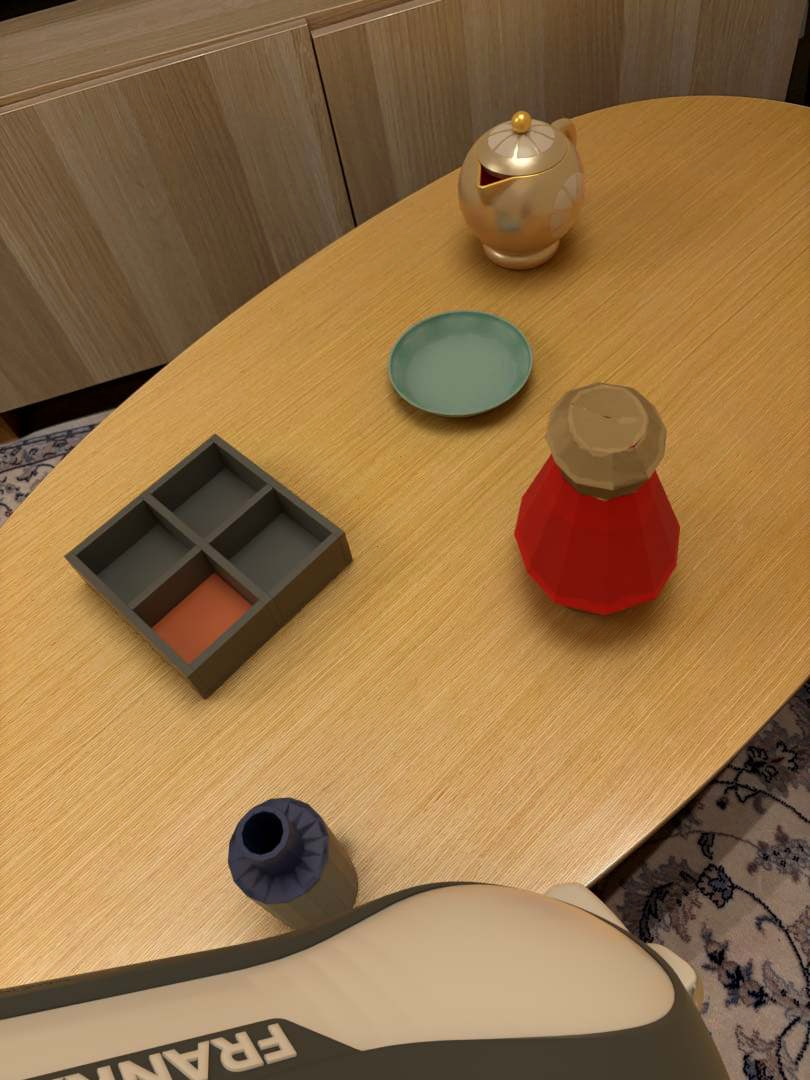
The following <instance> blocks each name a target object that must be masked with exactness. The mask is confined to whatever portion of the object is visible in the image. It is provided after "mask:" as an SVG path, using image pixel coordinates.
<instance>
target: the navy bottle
mask: <svg viewBox="0 0 810 1080" xmlns="http://www.w3.org/2000/svg"><path fill="white" fill-rule="evenodd" d="M227 865H228V868H229V871H230V874H231V878H232V881H233V882H234V884H235V885H236V886H237V887H238V889H240V891H241V892H242V893H243V894H244V895H245V896H246V897H247V898H248V899H250V900H251V901H252V902H254V903H255V904H257V905H258V906H259V907H261V908H262V909H263V910H265V911H266V912H267V913H269V914H270V915H271V916H273V917H274V918H276V919H277V920H278V921H279V922H281V923H282V924H283V925H285V926H286V927H288V928H290V929H292V930H293V931H294V930H297V929H300V928H303V927H306V926H309V925H311V924H314V923H317V922H319V921H322V920H325V919H327V918H330V917H333V916H335V915H338V914H341V913H343V912H345V911H348V910H350V909H352V908H354V906H355V904H356V900H357V897H358V891H359V878H358V874H357V870H356V868H355V865H354V863H353V861H352V858H351V857H350V855H349V853H347V851H346V849H345V848H344V847H343V845H342V844H341V843H340V841H339V840H338V838H337V837H336V835H335V834H334V832H333V831H332V830H331V828H330V827H329V825H328V824H327V823H326V821H325V820H324V819H323V817H322V815H320V813H318V812H317V811H316V809H314V808H313V807H312V806H311V805H310V804H309V803H307V802H305V801H302V800H299V799H297V798H294V797H289V796H288V797H277V798H269V799H267V800H265V801H263V802H261V803H259V804H256V805H255V806H253V807H252V808H250V809H249V810H248V811H247V812H246V813H245V814H244V815H243V816H242V817H241V818H240V820H239V821H238V822H237V824H236V826H235V828H234V831H233V833H232V835H231V836H230V838H229V842H228V854H227Z"/></svg>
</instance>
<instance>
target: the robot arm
mask: <svg viewBox="0 0 810 1080" xmlns="http://www.w3.org/2000/svg"><path fill="white" fill-rule="evenodd" d="M704 998H705V987H704V982H703V979H702V977H701V975H700V973H699V972H698V970H697V969H696V968H695V967H694V966H693V965H692V964H691V963H690V962H688V961H686V960H685V959H683V958H682V957H681V956H679V955H678V954H677V953H675V952H674V951H673V950H672V949H670V948H668V947H666V946H664V945H662V944H659V943H653V942H652V943H651V942H647V943H645V942H644V941H643V940H642V939H640V938H639V937H637V936H636V935H634V934H632V932H630V931H629V929H628V928H627V927H626V925H625V924H624V923H623V922H622V921H621V920H620V918H618V916H616V914H615V913H614V912H613V911H612V910H611V909H610V908H609V907H608V906H607V904H605V903H604V902H603V901H602V900H601V899H600V898H599V897H598V896H597V895H596V894H594V892H592V891H591V890H590V889H589V888H587V887H586V886H585V885H584V884H582V883H580V882H565V883H564V882H563V883H557V884H554V885H552V886H551V887H550V888H548V889H547V890H546V891H545V892H544V893H543V894H542V893H539V892H535V891H531V890H526V889H522V888H518V887H513V886H508V885H502V884H496V883H489V882H488V883H487V882H478V881H464V880H463V881H462V880H461V881H459V880H457V881H453V880H451V881H438V882H431V883H424V884H419V885H415V886H411V887H407V888H404V889H401V890H398V891H395V892H391V893H389V894H386V895H383V896H381V897H377V898H375V899H373V900H370V901H367V902H365V903H362V904H360V905H358V906H355V907H353V908H352V909H350V910H348V911H345V912H343V913H341V914H338V915H335V916H333V917H330V918H327V919H325V920H322V921H319V922H317V923H314V924H311V925H309V926H306V927H303V928H300V929H297V930H294V929H293V930H291V931H288V932H285V933H280V934H278V935H274V936H269V937H265V938H261V939H256V940H253V941H247V942H243V943H238V944H237V943H236V944H233V945H228V946H222V947H218V948H212V949H207V950H202V951H195V952H189V953H184V954H179V955H174V956H168V957H163V958H158V959H153V960H146V961H141V962H137V963H136V962H135V963H132V964H126V965H120V966H115V967H109V968H103V969H100V970H93V971H88V972H84V973H77V974H74V975H67V976H61V977H56V978H52V979H51V978H50V979H46V980H40V981H36V982H35V981H34V982H30V983H25V984H24V983H23V984H19V985H13V986H8V987H3V988H0V1080H731V1077H730V1076H729V1072H728V1070H727V1068H726V1066H725V1063H724V1060H723V1057H722V1055H721V1053H720V1051H719V1049H718V1047H717V1045H716V1042H715V1040H714V1038H713V1036H712V1034H711V1032H710V1030H709V1028H708V1026H707V1025H706V1022H705V1020H704V1019H703V1016H702V1014H701V1009H702V1007H703V1003H704V1000H705V999H704Z"/></svg>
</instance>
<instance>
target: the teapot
mask: <svg viewBox="0 0 810 1080" xmlns="http://www.w3.org/2000/svg"><path fill="white" fill-rule="evenodd" d="M577 138H578V134H577V130H576V126H575V124H574V123H573V121H572V120H571V119H570V118H567V117H561V118H558V119H556V120H554V121H553V122H552V123H548V122H546V121H542V120H538V119H534V118H532V117H531V115H530V113H529V112H527V111H525V110H519V111H517V112H515V113H514V114H513V115H512V116H511V120H506V121H504V122H501V123H499V124H497V125H495V126H493V127H491V128H490V129H488V130H487V131H486V132H484V133H483V134H482V135H481V136H480V137H479V138H478V139H477V140H476V141H475V142H474V143H473V145H472V146H471V147H470V149H469V151H468V152H467V154H466V156H465V158H464V160H463V162H462V165H461V168H460V171H459V176H458V182H457V183H458V184H457V196H458V197H457V198H458V204H459V209H460V212H461V215H462V218H463V220H464V222H465V224H466V226H467V227H468V229H469V230H470V232H471V233H472V234H473V235H474V236H475V237H476V239H478V241H480V242H481V245H482V250H483V252H484V254H485V256H486V257H487V258H488V259H489V261H490V262H492V263H494V264H495V265H497V266H498V267H502V268H504V269H509V270H518V271H519V270H529V269H533V268H536V267H539V266H541V265H544V264H545V263H547V262H548V261H550V260H551V259H552V258H553V256H554V255H555V254H556V253H557V251H558V249H559V245H560V242H561V239H562V238H563V237H564V236H565V235H566V234H567V233H568V232H569V230H570V229H571V228H572V227H573V225H574V224H575V222H576V220H577V218H578V216H579V214H580V212H581V209H582V207H583V203H584V199H585V193H586V174H585V168H584V164H583V161H582V158H581V155H580V154H579V152H578V149H577V144H578V143H577V141H578V140H577Z"/></svg>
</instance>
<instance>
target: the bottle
mask: <svg viewBox="0 0 810 1080" xmlns="http://www.w3.org/2000/svg"><path fill="white" fill-rule="evenodd" d="M667 432H668V430H667V428H666V426H665V423H664V421H663V420H662V418H661V416H660V414H659V412H658V409H657V408H656V406H655V405H654V404H653V403H652V402H651V401H650V400H648V399H647V398H646V397H645V396H644V395H643V394H642V393H640V392H639V391H638V390H637V389H636V388H635V387H631V386H625V385H618V384H612V383H607V382H601V381H597V382H594V383H590V384H588V385H584V386H580V387H578V388H575V389H571V390H567V391H565V392H564V394H563V395H562V396H561V397H560V399H558V401H557V402H556V404H555V405H554V407H553V408H552V409H551V411H550V413H549V417H548V421H547V426H546V431H545V436H544V438H545V440H546V443H547V445H548V448H549V452H550V455H549V456H548V458H547V459H546V461H545V462H544V463H543V465H542V467H541V468H540V470H539V471H538V473H537V474H536V475H535V477H534V478H533V480H532V482H531V483H530V485H529V486H528V488H527V489H526V491H525V492H524V493H523V495H522V496H521V500H520V504H519V509H518V514H517V518H516V522H515V526H514V527H515V528H514V531H513V536H514V538H515V542H516V545H517V547H518V550H519V553H520V556H521V560H522V562H523V565H524V567H525V571H526V573H527V574H528V575H529V576H530V577H531V579H532V580H533V581H534V582H535V583H536V585H538V586H539V587H540V589H541V590H542V591H543V593H545V595H547V596H548V598H549V599H550V600H551V602H553V604H555V605H556V604H557V605H559V606H561V607H565V608H567V609H572V610H574V611H581V612H584V613H587V614H592V615H596V616H597V615H598V616H599V615H600V616H608V615H611V614H614V613H618V612H622V611H624V610H627V609H630V608H634V607H636V606H640V605H642V604H645V603H648V602H651V601H655V600H657V599H658V597H659V595H660V593H661V592H662V591H663V589H664V587H665V585H666V584H667V583H668V581H669V580H670V577H671V576H672V574H673V572H674V571H675V569H676V567H677V564H678V554H679V543H680V533H681V525H680V523H679V520H678V518H677V516H676V513H675V512H674V511H675V510H674V509H673V507H672V504H671V501H670V499H669V497H668V496H667V493H666V491H665V488H664V486H663V484H662V482H661V479H660V477H659V474H658V472H657V470H656V469H657V468H658V466H659V465H660V463H661V462H662V461H663V459H664V457H665V451H666V450H665V449H666V441H667V434H668V433H667Z"/></svg>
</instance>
